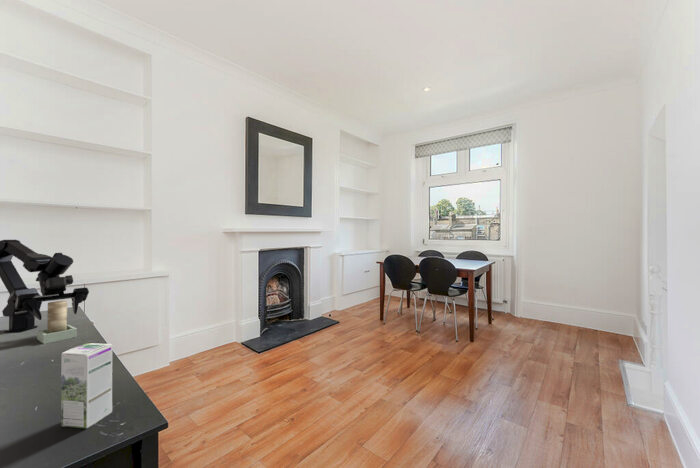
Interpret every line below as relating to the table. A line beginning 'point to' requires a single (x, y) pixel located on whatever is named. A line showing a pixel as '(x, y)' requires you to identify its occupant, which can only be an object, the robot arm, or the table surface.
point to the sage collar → (56, 335)
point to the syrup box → (86, 385)
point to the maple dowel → (57, 316)
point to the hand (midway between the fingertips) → (58, 316)
